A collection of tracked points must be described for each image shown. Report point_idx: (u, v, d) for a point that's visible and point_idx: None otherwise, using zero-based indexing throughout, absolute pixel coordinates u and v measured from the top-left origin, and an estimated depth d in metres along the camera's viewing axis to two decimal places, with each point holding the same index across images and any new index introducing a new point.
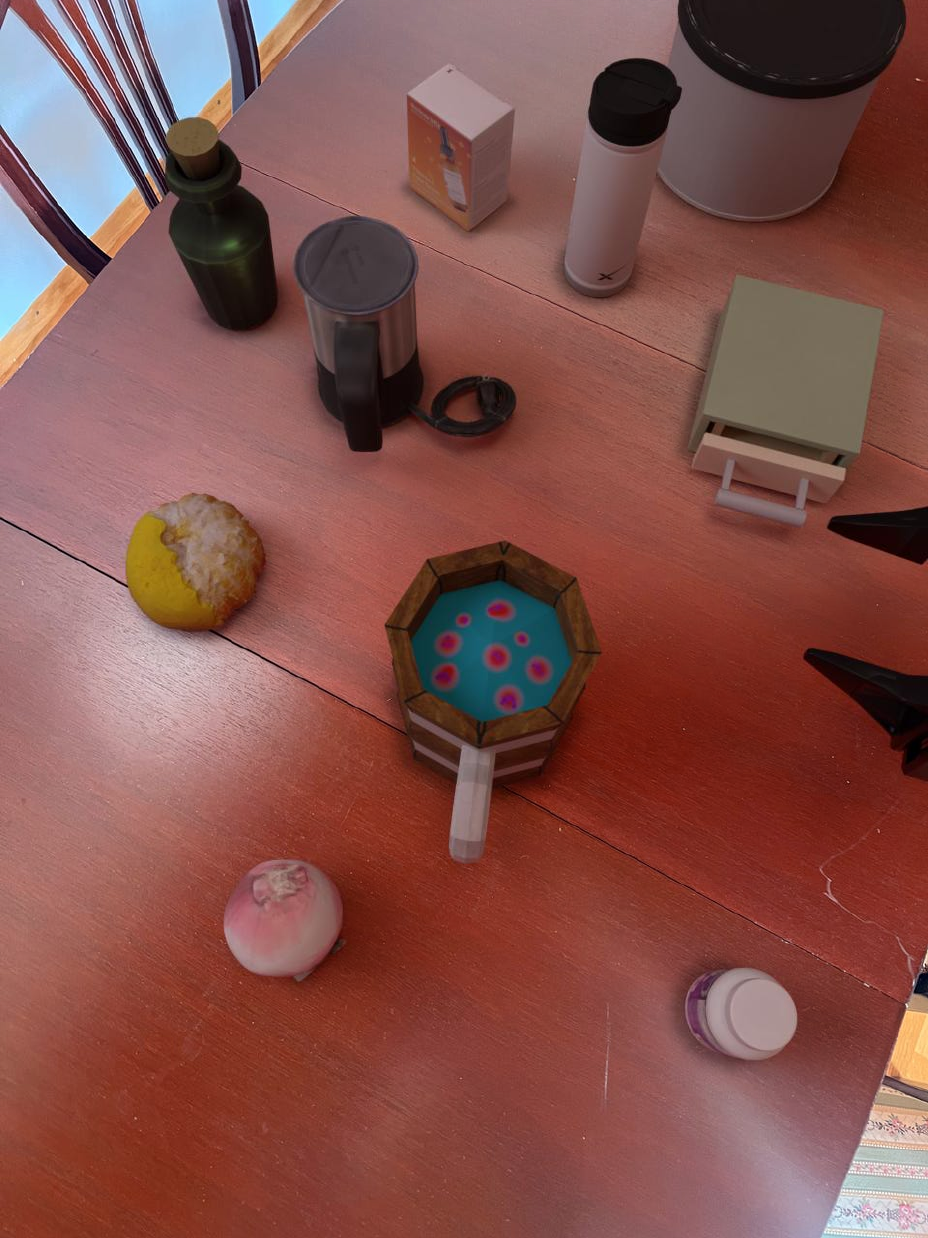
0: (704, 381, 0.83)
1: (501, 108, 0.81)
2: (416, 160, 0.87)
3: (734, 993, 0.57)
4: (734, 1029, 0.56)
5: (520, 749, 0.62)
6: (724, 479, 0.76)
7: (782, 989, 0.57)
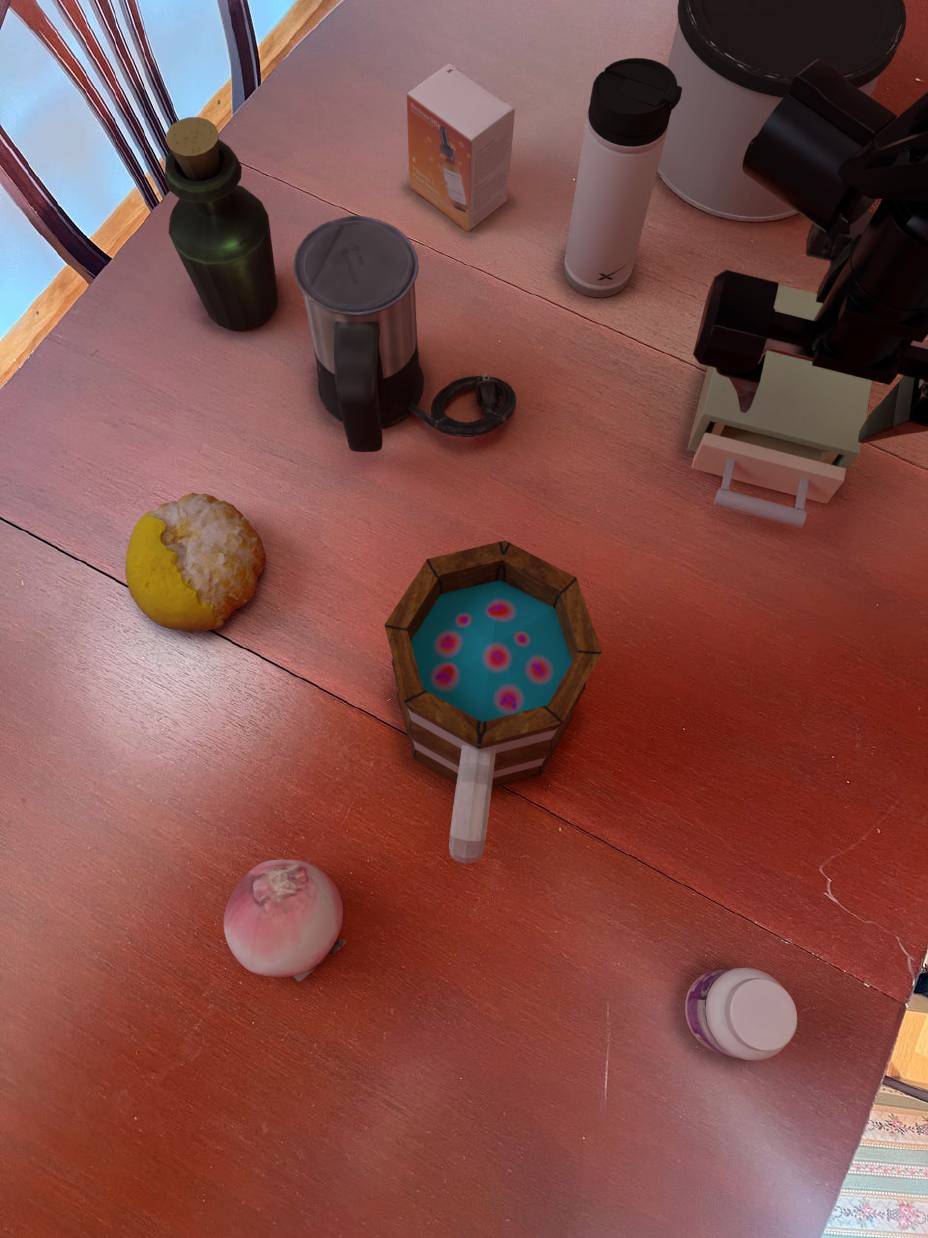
0: (704, 381, 0.83)
1: (501, 108, 0.81)
2: (416, 160, 0.87)
3: (734, 993, 0.57)
4: (734, 1029, 0.56)
5: (520, 749, 0.62)
6: (724, 479, 0.76)
7: (782, 989, 0.57)
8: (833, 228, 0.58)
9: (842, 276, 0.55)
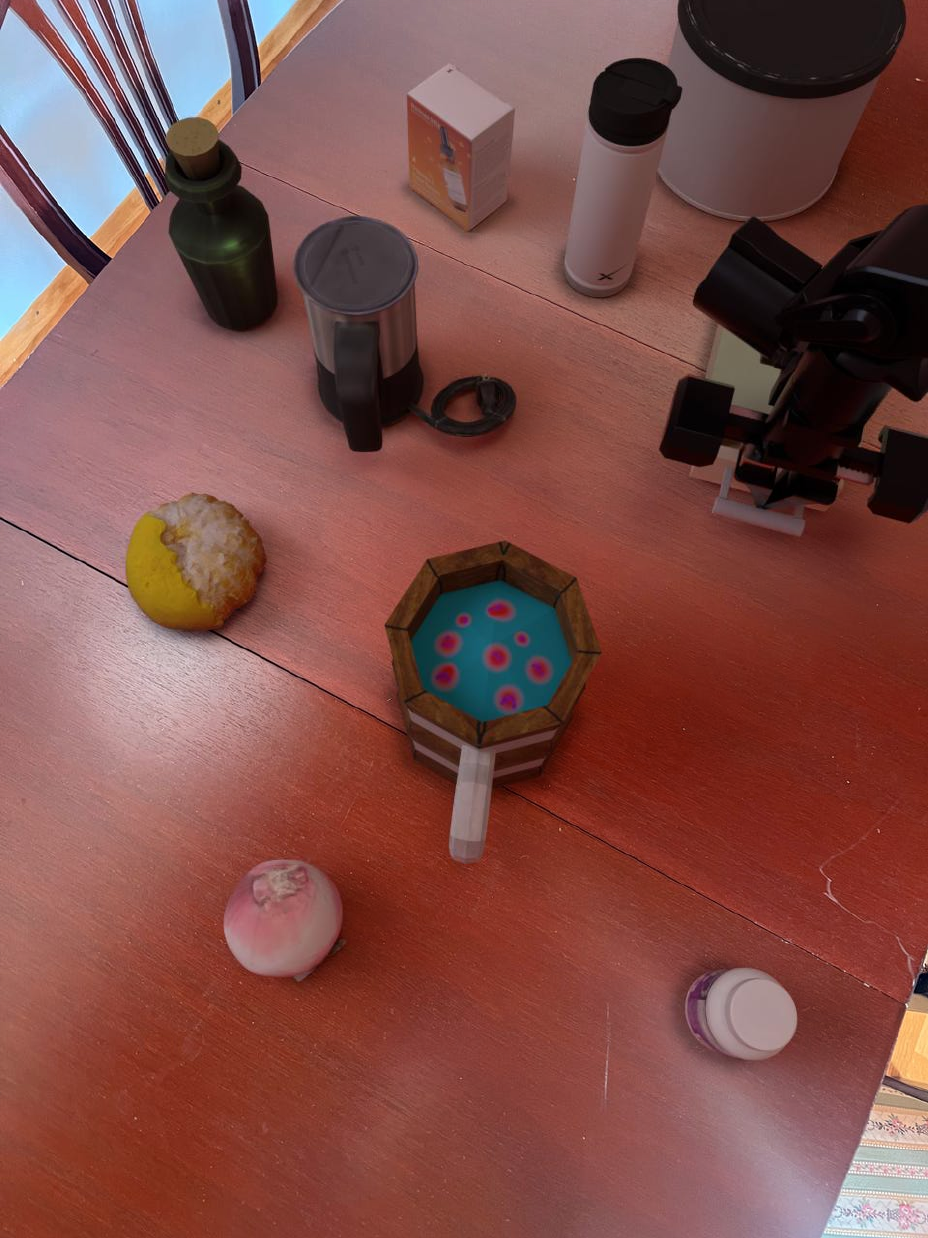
0: None
1: (501, 108, 0.81)
2: (416, 160, 0.87)
3: (734, 993, 0.57)
4: (734, 1029, 0.56)
5: (520, 749, 0.62)
6: (722, 487, 0.76)
7: (782, 989, 0.57)
8: None
9: (785, 390, 0.62)
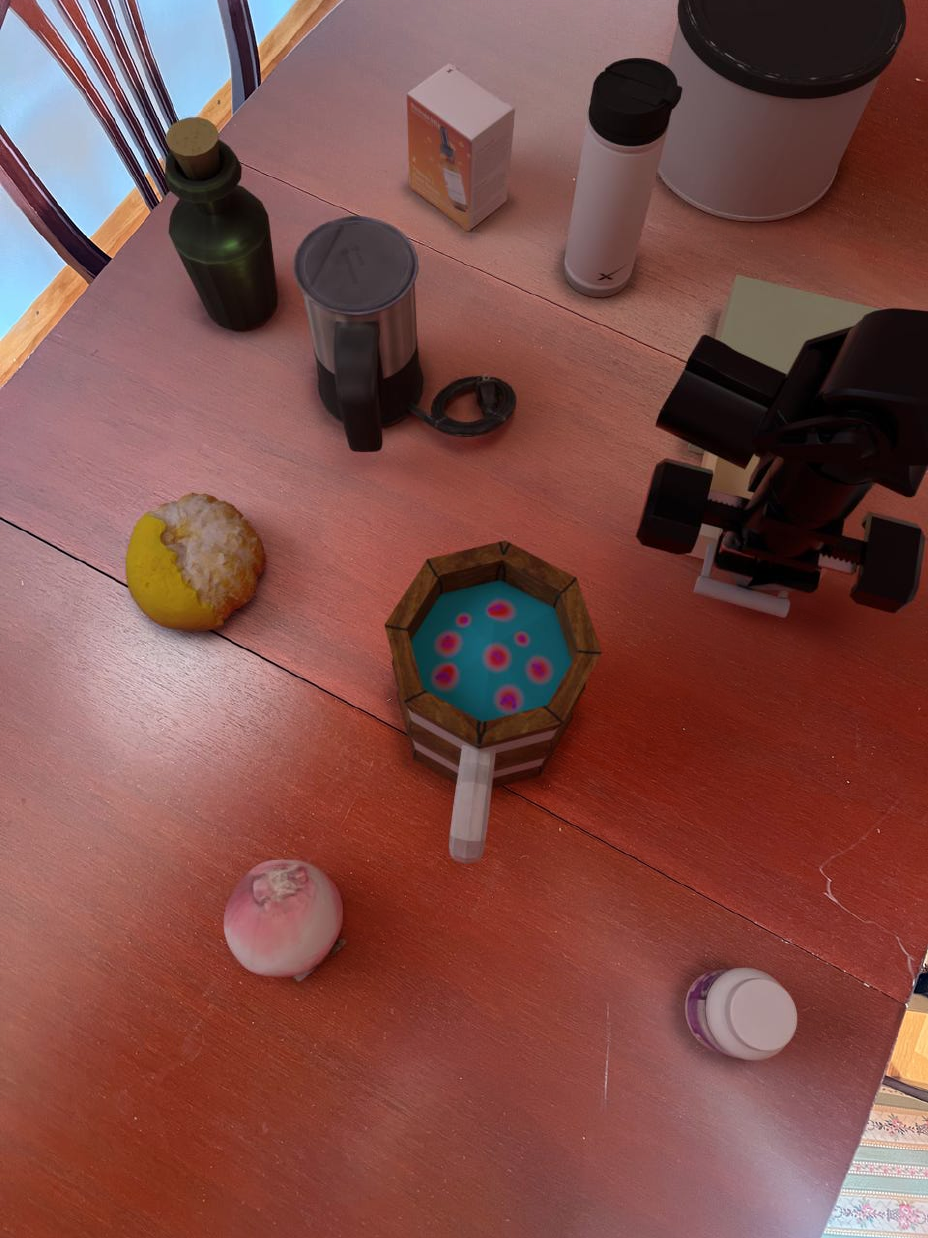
0: None
1: (501, 108, 0.81)
2: (416, 160, 0.87)
3: (734, 993, 0.57)
4: (734, 1029, 0.56)
5: (520, 749, 0.62)
6: (704, 566, 0.73)
7: (782, 989, 0.57)
8: None
9: (764, 483, 0.60)
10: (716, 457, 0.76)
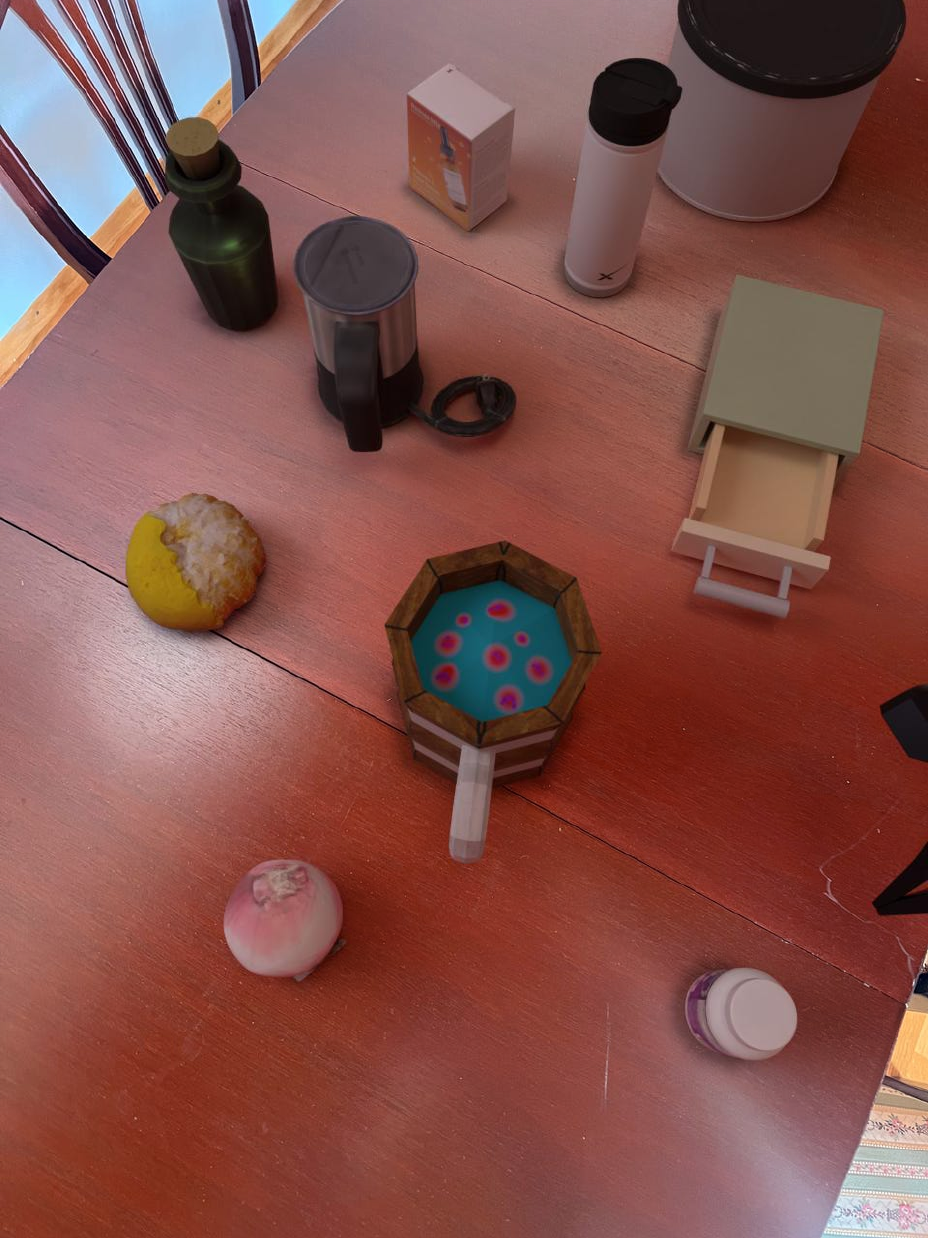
0: (704, 381, 0.83)
1: (501, 108, 0.81)
2: (416, 160, 0.87)
3: (734, 993, 0.57)
4: (734, 1029, 0.56)
5: (520, 749, 0.62)
6: (704, 567, 0.73)
7: (782, 989, 0.57)
8: None
9: None
10: (716, 458, 0.76)
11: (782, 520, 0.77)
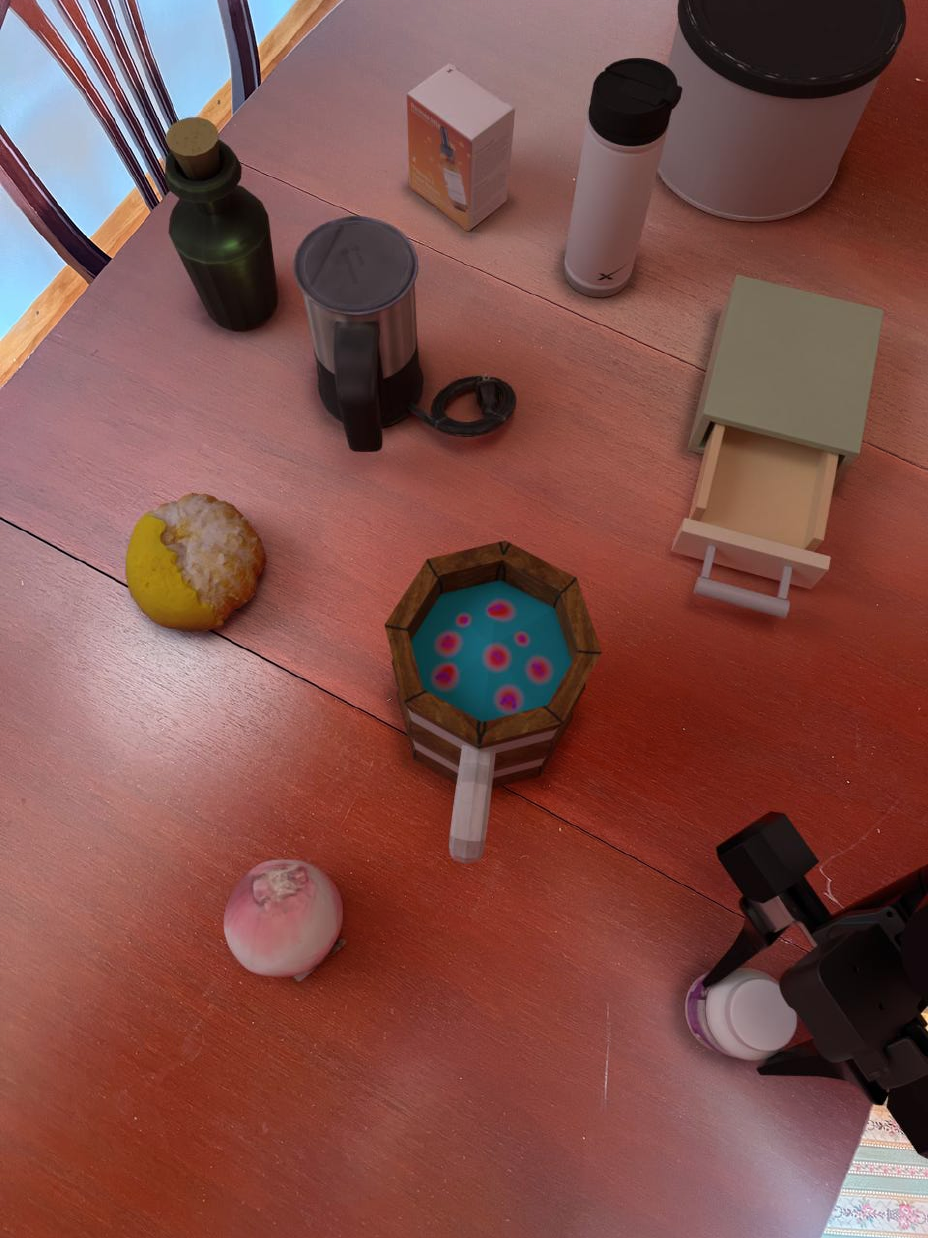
0: (704, 381, 0.83)
1: (501, 108, 0.81)
2: (416, 160, 0.87)
3: (734, 993, 0.57)
4: (734, 1029, 0.56)
5: (520, 749, 0.62)
6: (704, 567, 0.73)
7: None
8: None
9: None
10: (716, 458, 0.76)
11: (782, 520, 0.77)
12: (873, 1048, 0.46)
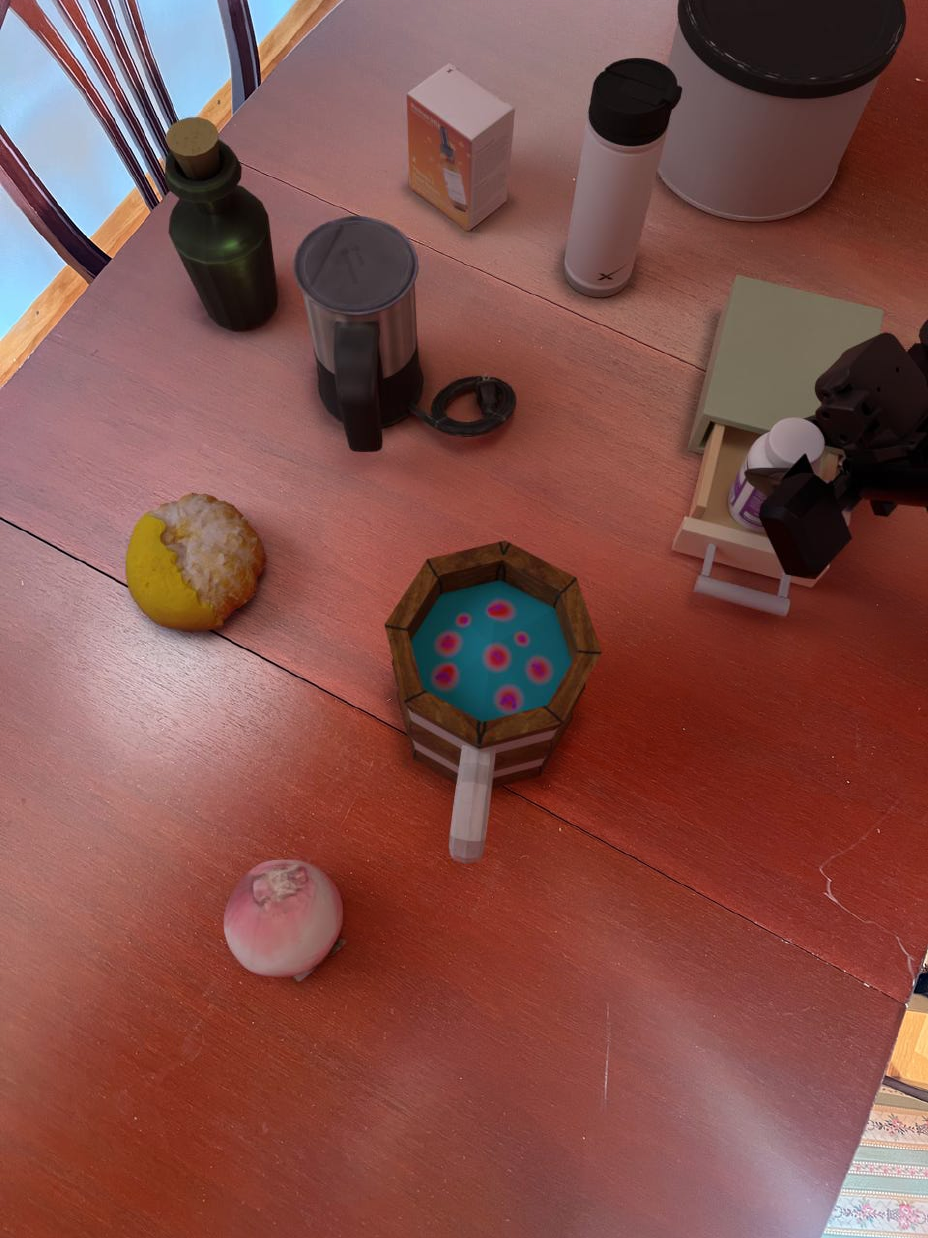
0: (704, 381, 0.83)
1: (501, 108, 0.81)
2: (416, 160, 0.87)
3: (803, 419, 0.69)
4: (776, 423, 0.69)
5: (520, 749, 0.62)
6: (705, 565, 0.73)
7: (822, 450, 0.68)
8: (868, 428, 0.58)
9: None
10: (716, 456, 0.76)
11: None
12: (849, 373, 0.57)
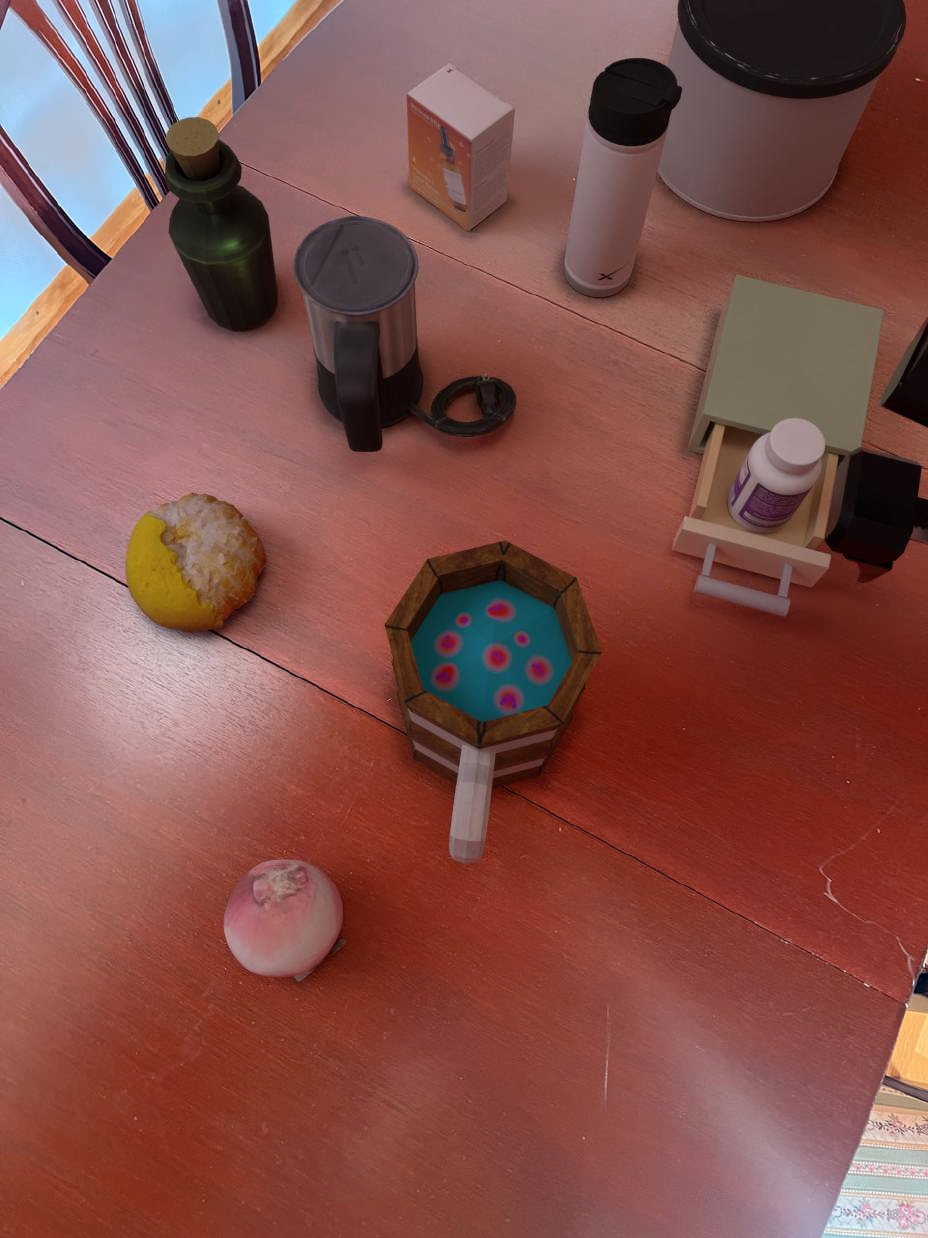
0: (704, 381, 0.83)
1: (501, 108, 0.81)
2: (416, 160, 0.87)
3: None
4: None
5: (520, 749, 0.62)
6: (705, 565, 0.73)
7: (822, 451, 0.68)
8: None
9: None
10: (716, 456, 0.76)
11: None
12: None
